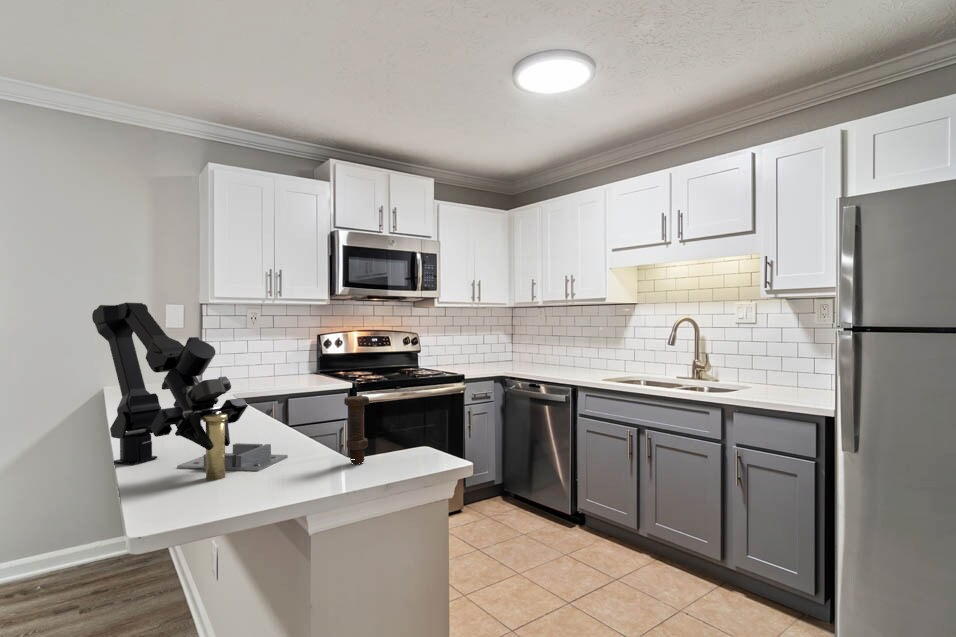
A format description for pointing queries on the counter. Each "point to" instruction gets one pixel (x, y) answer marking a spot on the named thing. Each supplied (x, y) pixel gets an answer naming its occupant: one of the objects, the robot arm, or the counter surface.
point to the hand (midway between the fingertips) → (219, 446)
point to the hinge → (242, 458)
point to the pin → (215, 446)
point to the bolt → (356, 427)
